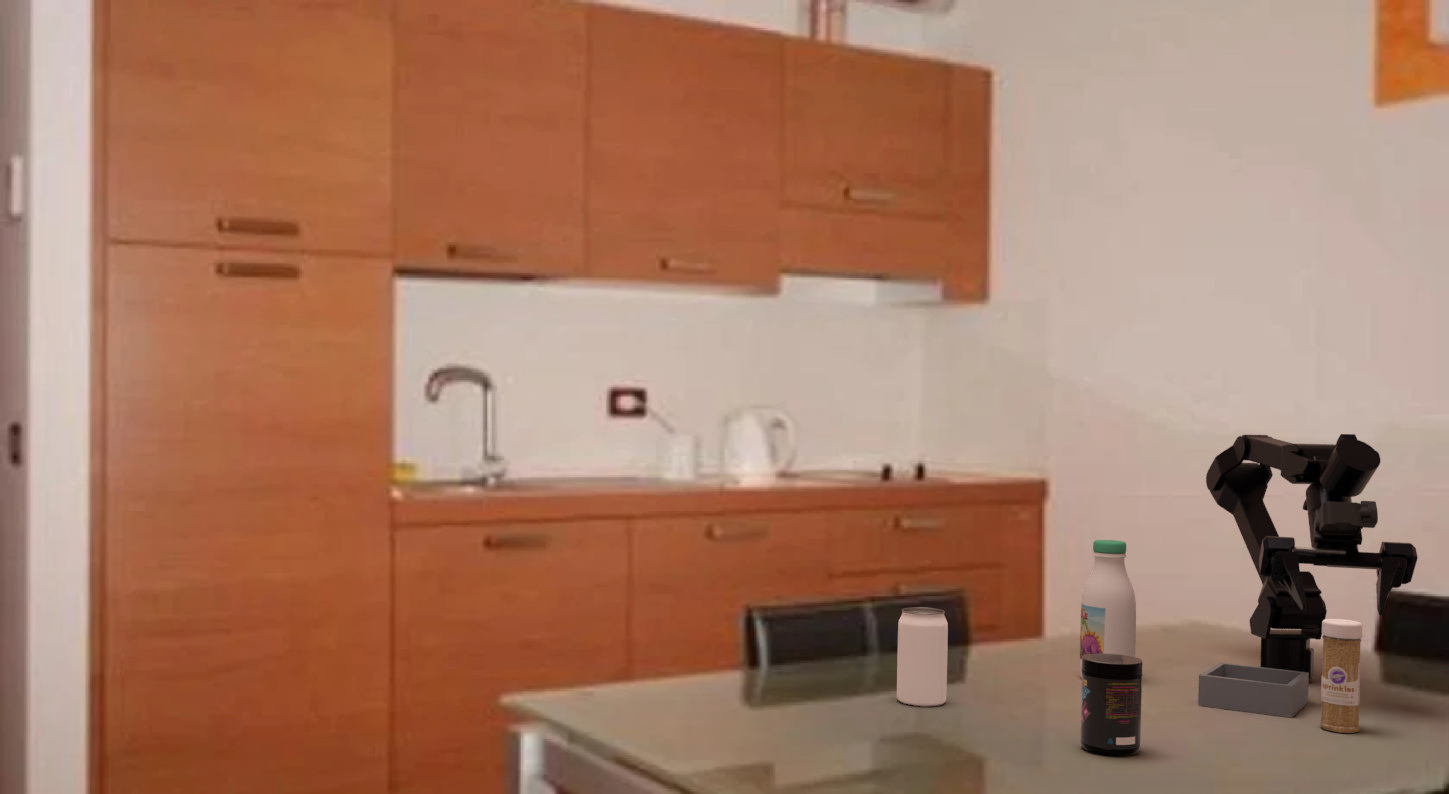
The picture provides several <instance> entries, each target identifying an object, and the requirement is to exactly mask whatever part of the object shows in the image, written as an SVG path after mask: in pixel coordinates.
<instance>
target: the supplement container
mask: <svg viewBox="0 0 1449 794" xmlns="http://www.w3.org/2000/svg"><path fill="white" fill-rule="evenodd" d="M1081 668H1082V669H1081V672H1082V678H1081V684H1080V685H1081V690H1080V693H1081V694H1080V738H1079V741H1080V745H1081V747H1082V749H1084V750H1085V751H1087V752H1089V753H1091V754H1095V755H1100V756H1105V757H1106V756H1108V757H1131V756H1134V755H1136V754H1137V753H1138V752H1139V751H1140V749H1141V740H1142V737H1141V735H1142V734H1141V733H1142V731H1141V730H1142V697H1143V696H1142V692H1143V691H1142V689H1143V688H1142V687H1143V660H1142V659H1141V658H1139V657H1136V656H1135V657H1132V656H1126V655H1118V654H1087V655H1083V656H1082V666H1081Z"/></svg>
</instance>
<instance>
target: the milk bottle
mask: <svg viewBox="0 0 1449 794" xmlns="http://www.w3.org/2000/svg"><path fill="white" fill-rule="evenodd" d="M1092 545H1093V546H1092V550H1093V554H1092V555H1093V557H1094V561H1093V562H1094V563H1093V567H1092V569H1091V571H1090V575H1089V577H1088V578H1087V580H1086V583H1085V584H1084V586H1083V590H1082V595H1081V602H1080V603H1081V604H1080V605H1081V606H1080V607H1081V608H1080V628H1079V629H1080V632H1079V633H1080V634H1079V638H1080V640H1079V676H1080V677H1081V679H1082V672H1081V669H1082V668H1081V666H1082V656H1083V655H1087V654H1118V655H1126V656H1132V657H1136V647H1137V646H1136V645H1137V644H1136V641H1137V640H1136V639H1137V636H1136V635H1137V633H1136V632H1137V605H1136V604H1137V602H1136V595H1135V590H1134V588H1133V585H1132V582H1131V580H1130V578H1129V576H1128V572H1127V569H1126V565H1125V558H1126V557H1127V555H1126V552H1127V543H1126V542H1125V541H1122V540H1113V539H1096V540H1094V541H1093V543H1092Z"/></svg>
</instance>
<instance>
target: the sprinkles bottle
mask: <svg viewBox="0 0 1449 794" xmlns="http://www.w3.org/2000/svg"><path fill="white" fill-rule="evenodd" d="M1321 638H1322V661H1321V662H1322V664H1321V665H1322V666H1321V676H1320V677H1321V682H1320V683H1321V685H1320V700H1321V703H1320V704H1321V707H1320V708H1321V710H1320V713H1321V714H1320V723H1319V727H1321V729H1323V730H1325V731H1329V732H1333V733H1334V732H1335V733H1339V734H1340V733H1341V734H1353V733H1357V732H1359V731H1361V730H1360V723H1359V721H1360V704H1361V703H1360V702H1361V696H1360V695H1361V643H1362V638H1363V624H1362V622H1360V621H1356V620H1353V619H1345V618H1325V620H1323V621H1322V635H1321Z"/></svg>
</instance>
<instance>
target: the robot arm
mask: <svg viewBox="0 0 1449 794" xmlns="http://www.w3.org/2000/svg"><path fill="white" fill-rule="evenodd" d="M1380 456H1381V455H1380V453H1379V452H1378V451H1377V450H1375V448H1373V446H1371V445H1369V444H1368V443H1366V442H1365V441H1362V440H1360V439H1358V438H1357V436H1356V434H1355V433H1351V434H1350V433H1340V435H1339V436H1338V438H1337V441H1336V443H1335V444H1333V443H1331V444H1328V443H1322V444H1321V443H1320V444H1319V443H1292V442H1289V441H1284V440H1281V439H1276V438H1273V437H1272V436H1269V434H1268V435H1267V434H1242V435H1239V436H1237V437H1236V439H1235V441H1234V442H1233V444H1232V445H1231V446H1230V447H1227V448H1226V449H1225V450H1224V451H1222V452H1220V453H1219V454H1218V455H1216V456H1215V457H1214V459H1213V461H1212V462H1211V465H1210V466H1209V468H1208V470H1207V473H1206V477H1205V482H1206V483H1205V484H1206V487H1207V490H1208V491H1209V493H1210V494H1211V496H1212V498H1213V499H1214V501H1215V503H1216V504H1217V506H1219V507H1220V508H1222V509H1223V510H1225V511H1227V512H1228V513H1230V514H1231V515H1232V516H1233V518H1234V520H1235V522H1236V523H1235V524H1236V525H1237V528H1238V529H1239V532H1240V535H1241V538H1242V539H1243V541H1244V544H1245V546H1246V548H1247V551H1248V553H1249V556H1250V558H1251V560H1252V562H1253V565H1254V567H1255V570H1256V572H1257V574H1258V577H1259V580H1260V581H1261V585H1262V587H1261V589H1260V593H1259V596H1258V598H1257V603H1258V604H1257V606H1256V607H1255V609H1254V611H1253V612H1252V615H1251V617H1250V618H1249V627H1250V634H1251V635H1253V636H1256V637H1258V638H1260V666H1259V667H1264V668H1273V669H1281V670H1290V671H1299V672H1307V673H1309V681H1310V680H1311V679H1312V678H1313V677H1314V673H1315V671H1314V670H1315V669H1314V668H1315V667H1314V666H1315V664H1314V663H1315V649H1314V648H1313V647H1311V640H1322V636H1323V635H1322V621H1323V620H1325V619H1326V618H1327V612H1328V611H1327V605H1326V603H1325V601H1324V599H1323V597H1322V595H1321V594H1322V590H1321V589H1320V588H1319V586H1318V585H1317V582H1316V580H1315V576H1314V575H1313V573H1311V572H1310V571H1308V570H1307V571H1304V570H1302V571H1300V570H1301V569H1300V564H1303V565H1304V564H1305V565H1312V566H1319V567H1321V566H1322V567H1327V568H1342V569H1343V568H1344V569H1361V570H1364V569H1365V570H1376V577H1377V580H1376V583H1375V585H1376V586H1375V589H1376V590H1375V591H1376V607H1377V608H1376V609H1377V613H1378V615H1379V616H1383V614H1384V611H1385V607H1386V602H1387V600H1388V597H1389V595H1390V593H1391V592H1392V589H1394V588H1395V589H1397V588H1400V587H1401V586H1402V585H1407V584H1409V583H1411V582H1412V579H1413V576H1414V572H1415V569H1416V565H1417V561H1418V553H1417V548H1416V547H1415V546H1414V544H1413V543H1410V542H1400V541H1399V542H1398V541H1397V542H1395V541H1394V542H1393V541H1381V544H1380V548H1379V552H1368V551H1367V552H1366V551H1359V546H1362V542H1363V534H1362V529H1363V528H1365V529H1367V528H1369V529H1374V528H1375V527H1376V526H1377V524H1378V521H1379V517H1378V515H1379V513H1378V507H1377V502H1376V501H1375V500H1374V501H1372V500H1360V503H1359V502H1353V500H1352V498H1353V497H1357V496H1359V495H1361V494H1362V493H1363V491H1364V490H1365V488H1366V486H1367V485H1368V483H1369V482H1370V480H1371V479H1372V477H1373V476H1374V474H1375V473H1376V471H1377V470H1378V468H1379V466H1380V464H1381V457H1380ZM1244 461H1250V462H1244ZM1272 469H1276V470H1280V477H1282V478H1283V479H1284V480H1286V481H1287V482H1289V483H1290V484H1292V485H1308V487H1307V488H1306V490H1305V499H1304V502H1303V504H1302V510H1303V511H1306V512H1307V518H1308V526H1309V527H1308V528H1309V535H1310V536H1309V537H1310V539H1309V540H1310V545H1311V546H1310V547H1307V546H1305V547H1303V546H1302V547H1301V546H1300V547H1299V546H1296V540H1295V537H1293V536H1291V537H1290V536H1280V535H1279V533H1278V531H1277V528H1276V526H1275V524H1274V522H1273V520H1272V517H1271V515H1270V513H1269V510H1268V508H1267V507H1266V504H1265V502H1264V498H1265V495H1266V492H1267V490H1268V484H1269V483H1270V481H1271V480H1272V477H1273V476H1274V475H1273V474H1274V473H1273V472H1272Z"/></svg>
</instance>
